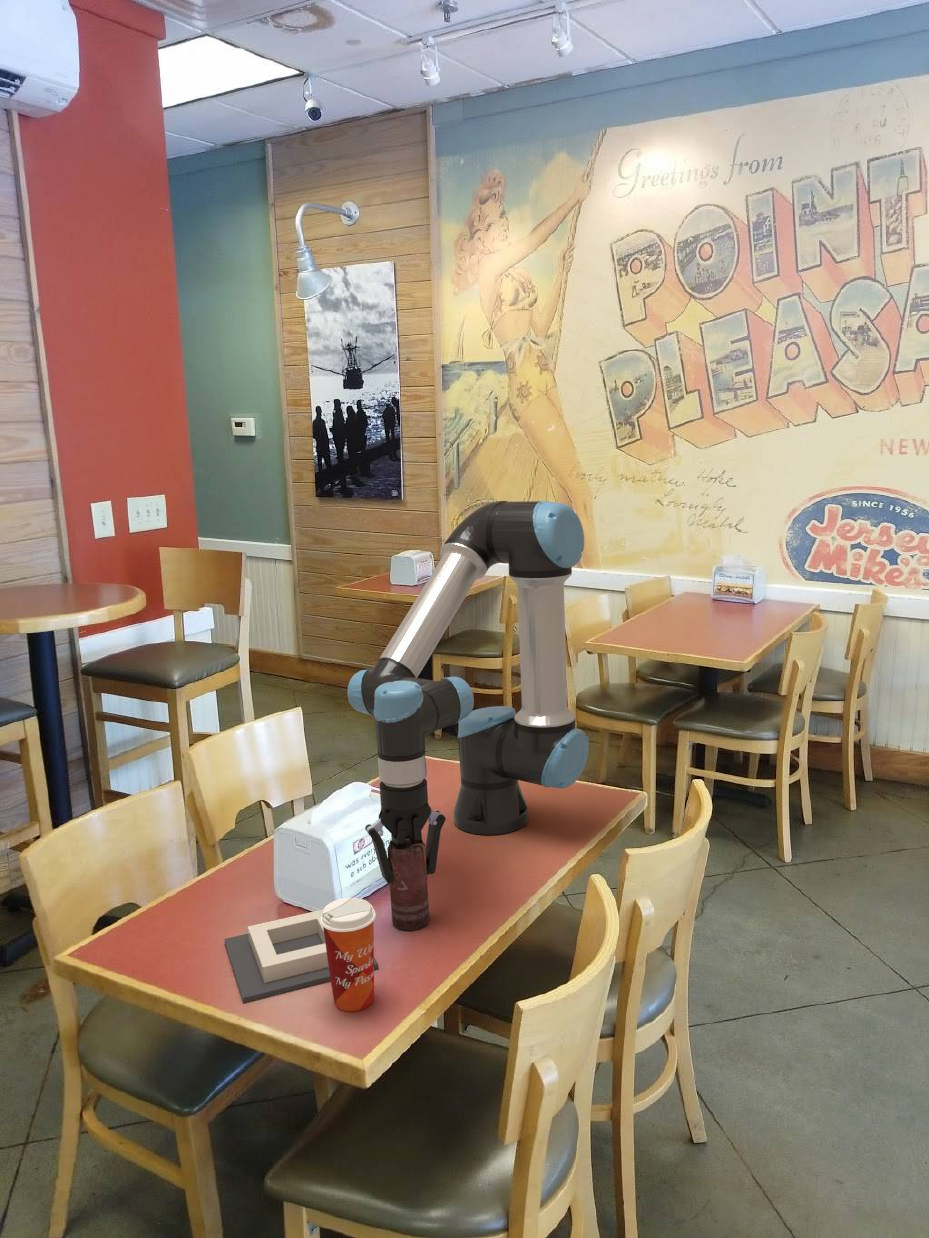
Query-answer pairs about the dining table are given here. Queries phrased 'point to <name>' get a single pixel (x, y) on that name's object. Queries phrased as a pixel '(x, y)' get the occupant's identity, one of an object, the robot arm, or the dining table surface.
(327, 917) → the paper cup
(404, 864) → the can
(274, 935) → the holder
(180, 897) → the dining table surface
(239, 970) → the mat
